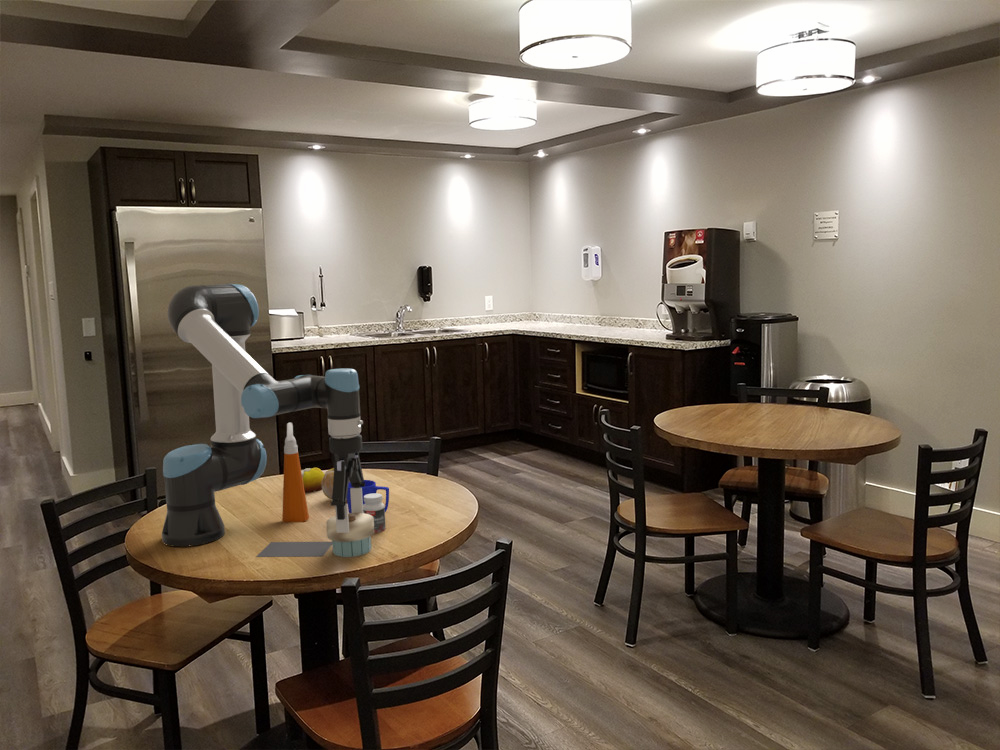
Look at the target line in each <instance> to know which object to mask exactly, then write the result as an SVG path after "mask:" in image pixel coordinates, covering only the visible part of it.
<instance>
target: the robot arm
mask: <svg viewBox="0 0 1000 750" xmlns="http://www.w3.org/2000/svg"><path fill="white" fill-rule="evenodd" d="M259 312H260V308H259V304H258V301H257V298H256V296H255V295H254V293H253V292H251V289H250V288H248V287H247V286H245V285H243V284H239V283H237V284H236V283H235V284H234V283H220V284H204V285H203V284H202V285H200V284H199V285H198V284H192V285H187V286H185V287H183V288H181V289H180V290H178V291H177V292H176V293H174V294H173V296H172V297H171V299H170V300H169V302H168V306H167V320H168V324H169V325H170V328H171V329H172V331H173V332H174V334H176V336H178V338H179V339H180V340H181V341H183V342H185V343H189V344H191V345H193V347H194V348H195V349H196V350H197V351H199V353H200V354H201V355H202V356H203V357H204V358H205V359H206V360H207V361H208V362H209V363H210V364H211V370H212V385H213V388H212V389H213V401H214V402H213V403H214V416H215V417H214V419H215V433H213V434H212V435H211V437H210V445H208V444H207V443H195V444H192V445H190V444H189V445H184V446H181V447H178V448H175V449H172V450H171V451H169V452H168V453H166V455H165V456H164V458H163V460H162V461H163V462H162V463H163V464H162V474H163V481H164V491H165V501H166V503H165V504H166V515H165V520H164V522H163V527H162V530H161V538H162V539H161V542H162V541H163V542H162V544H164V543H165V544H167V545H166V546H168V545H173V546H172V547H174V546H186V547H190V546H189V545H195V546H199V545H198V544H201V545H204V544H203V543H205V544H208V542H209V543H211V541H212V542H214V540H215V541H216V540H217V541H218V540H219V539H221V538H222V537H223V536H224V535H225V533H226V530H225V529H226V528H225V524H224V521H223V518H222V517H221V514H220V512H219V510H218V508H217V506H216V495H215V494H216V492H220V491H224V490H227V489H231V488H235V487H238V486H242V485H243V486H244V485H247V484H249V483H250V482H254V481H256V480H258V479H259V478H260V477H261V476H262V475H263V474H264V472H265V470H266V466H267V459H268V458H267V456H268V455H267V451H266V448H264V444H263V443H262V441H261V440H260V439H258V438H257V434H256V433H255V432H254V431H252V429H251V428H250V418H252V419H261V418H270V417H275V416H278V415H282V414H287V413H293V412H297V411H302V410H307V409H312V408H319V409H327V410H326V411H327V428H328V429H327V430H328V435H329V436H330V437H329V438H328V441H329V442H328V443H329V452H330V453H331V454H333V455H337V456H338V457H337V460H336V461H333V468H334V479H333V493H332V499H331V502H330V505H331V506H332V507H333V506H334V509H335V516H336V528H337V533H348V532H349V519H348V513H349V511H348V503H347V492H348V485H349V481H350V483H351V486H352V487H354V488H350V493H351V510H352V513H363V499H362V488H360V487H365V482H364V480H365V478H364V473H363V469H362V464H361V463H362V462H361V459H360V452H361V451H362V450H363V436H362V434H360V433H361V432H362V425H364V421H363V420H362V419H361V404H360V403H361V400H360V398H361V397H360V387H361V386H360V383H359V374H358V372H357V370H356V369H354V368H347V367H346V368H333V369H328V370H326V371H325V375H324V376H323V375H321V376H320V375H313V374H301V375H296V376H295V377H294V378H291V379H284V380H283V379H282V380H276V379H275V378H273V376H271V375H270V374H269V373H268V371H266V369H264V368H263V367H262V366H261V365H260V364H259V363H258V362H257V361H256V360H255V359H254V358H252V356H251V355H250V354H249V353H248V352H247V351H246V341H247V339H248V338H249V337H250V336H251V328H252V327H253V326H255V325H256V323H257V322H258V319H259V315H260V313H259ZM338 499H340V500H338ZM165 544H164V545H165Z"/></svg>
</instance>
